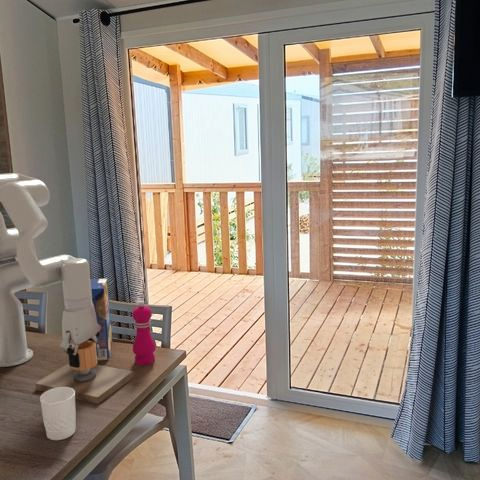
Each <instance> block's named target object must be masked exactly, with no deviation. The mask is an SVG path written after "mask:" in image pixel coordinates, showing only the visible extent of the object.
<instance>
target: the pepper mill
mask: <svg viewBox="0 0 480 480" xmlns="http://www.w3.org/2000/svg"><path fill="white" fill-rule="evenodd" d="M152 314H153V312H152V309H151V307H150V306H147V305H145V302H144V301H142V300H141V301H139V302H138V306H136V307H134V309H133V310H132V319H133V320H134V327H135V329H136V336H135V339H134V341H133V344H132V352H133V354H134V355H135V356H134V362H135V364H136V365H140V366H146V365H151V364H153V363H154V362H155V361H156V360H155V359H156V358H155V351H156V348H157V347H156V342H155V340H154V339H153V336H152V334H151V330H150V326H151V324H152V323H151V318H152V317H153V316H152Z"/></svg>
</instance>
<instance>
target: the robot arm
mask: <svg viewBox="0 0 480 480" xmlns="http://www.w3.org/2000/svg"><path fill="white" fill-rule="evenodd" d="M50 198H51V194H50V190H49V188H48V187H47V185H46V183H44V182H43V181H41V179H38V178H36V177H31V176H28V175H26V174H21V173H17V172H13V173H12V172H11V173H8V172H7V173H0V203H1V205H2V206H3V208H4V210H5V212H6V214H7V215H8V217H9V219H10V220H11V222H12V224H13V225H14V227H11V228H7V226H6V223H5V218H4V216H3V214H2V212H1V211H0V262H1V261H5V260H10V259H14V258H15V261H12V262H8V263H7V262H6V263H3V264H0V368H6V367H14V366H17V365H22V364H24V363H26V362H28V361H29V360H31V359H32V358H33V357H34V351H33V350H32V349H30V348H28V343H27V333H26V324H25V316H24V315H25V314H24V307H23V303H22V302H21V301H20V299H19V298H17V296H16V295H15V293H16V292H20V291H23V290H26V289H30V288H33V287H36V288H44V287H48V286H51V285H55V284H58V283H62V294H63V302H64V309H63V311H62V317H61V333H62V334H61V335H62V341H61V342H60V345H59V347H60V349H61V350H63V352H65V353H66V354H67V355H68V363H69V365H70V366H71V367H76V368H78V367H80V362H79V354H77V351H78V346H79V344H81V343H83V342H84V341H86V340H89V341H94V342H95V343H96V353H97V342H98V339H97V338H98V336H99V332H100V329H101V325H99V324H98V323H97V319H96V313H95V309H94V305H93V303H92V292H91V280H90V279H91V271H90V262H89V261H88V259H85V258H81V257H74V256H72V255H69V254H59V255H56V256H49V257H46V258H43V259H38V257H37V253H36V248H35V243H34V240H33V239H36V238H37V237H38V236H40V235H41V234H42V233H43V232H44V231H46V229H47V228H48V219H47V218H46V216H45V215H44V213H43V212H42V209H41V208H40V207H45V206H46V205H48V203H49V202H50ZM72 345H74V349H72ZM97 355H98V354H97Z"/></svg>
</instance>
